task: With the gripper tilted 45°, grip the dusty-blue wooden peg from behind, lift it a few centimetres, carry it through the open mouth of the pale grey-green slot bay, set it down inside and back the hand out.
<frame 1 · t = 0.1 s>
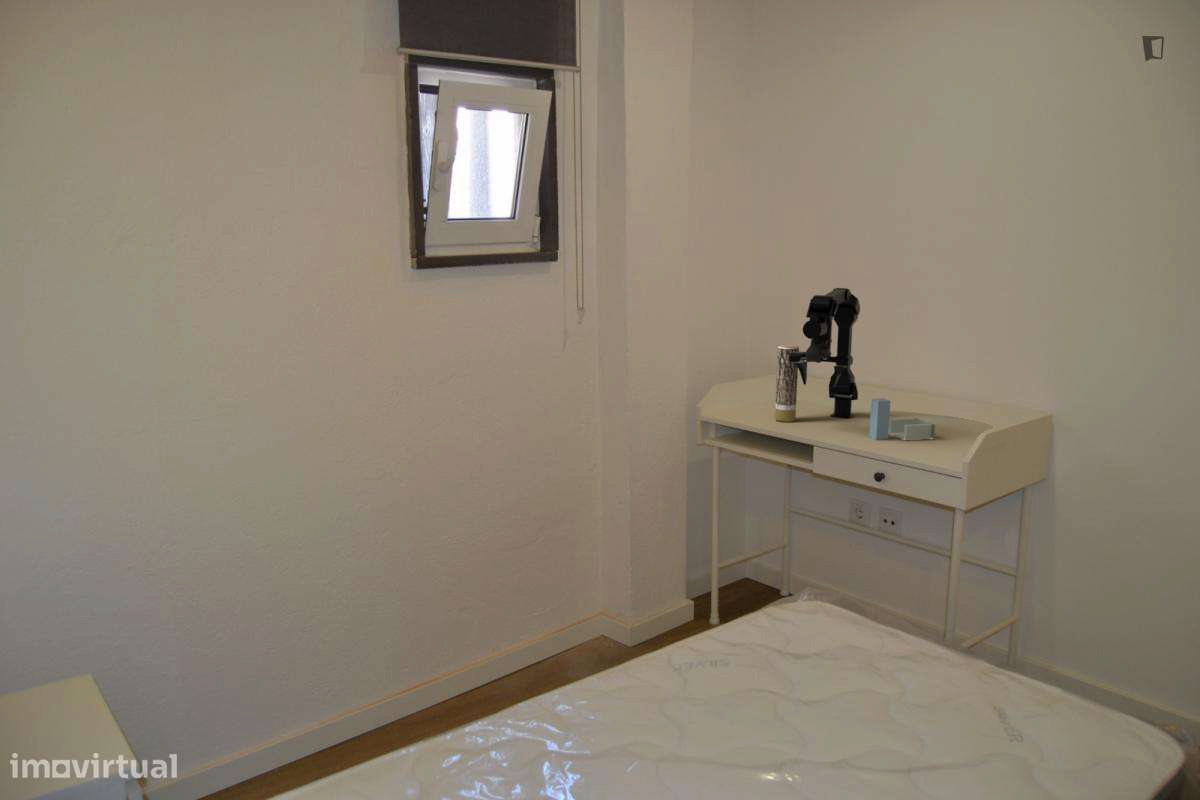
hand: (819, 385, 273), 15 cm above the table, tool pointing down, fingers open, 9 cm apart
paper tube: (784, 421, 291), on the table
slot bay: (911, 436, 270), on the table
peg: (878, 438, 267), on the table
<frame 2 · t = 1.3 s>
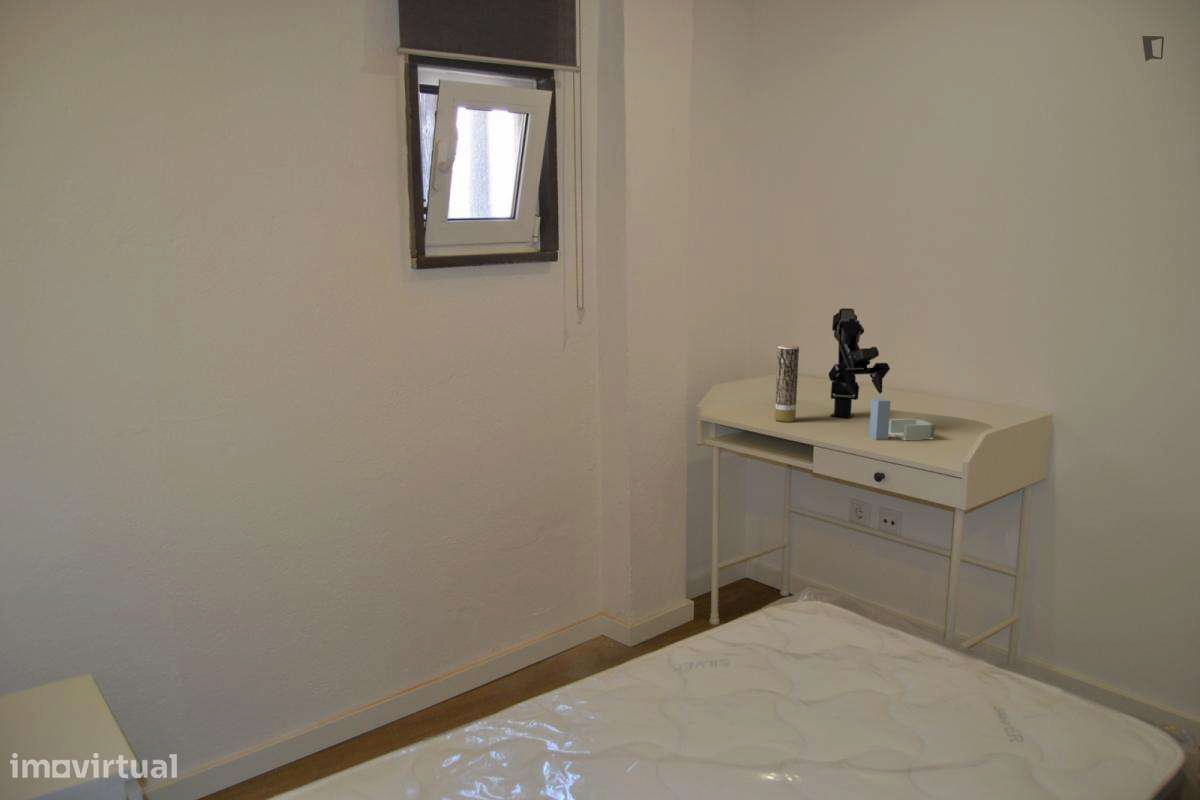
hand: (867, 393, 272), 13 cm above the table, tool tilted 45°, fingers open, 9 cm apart
nothing on the table moved.
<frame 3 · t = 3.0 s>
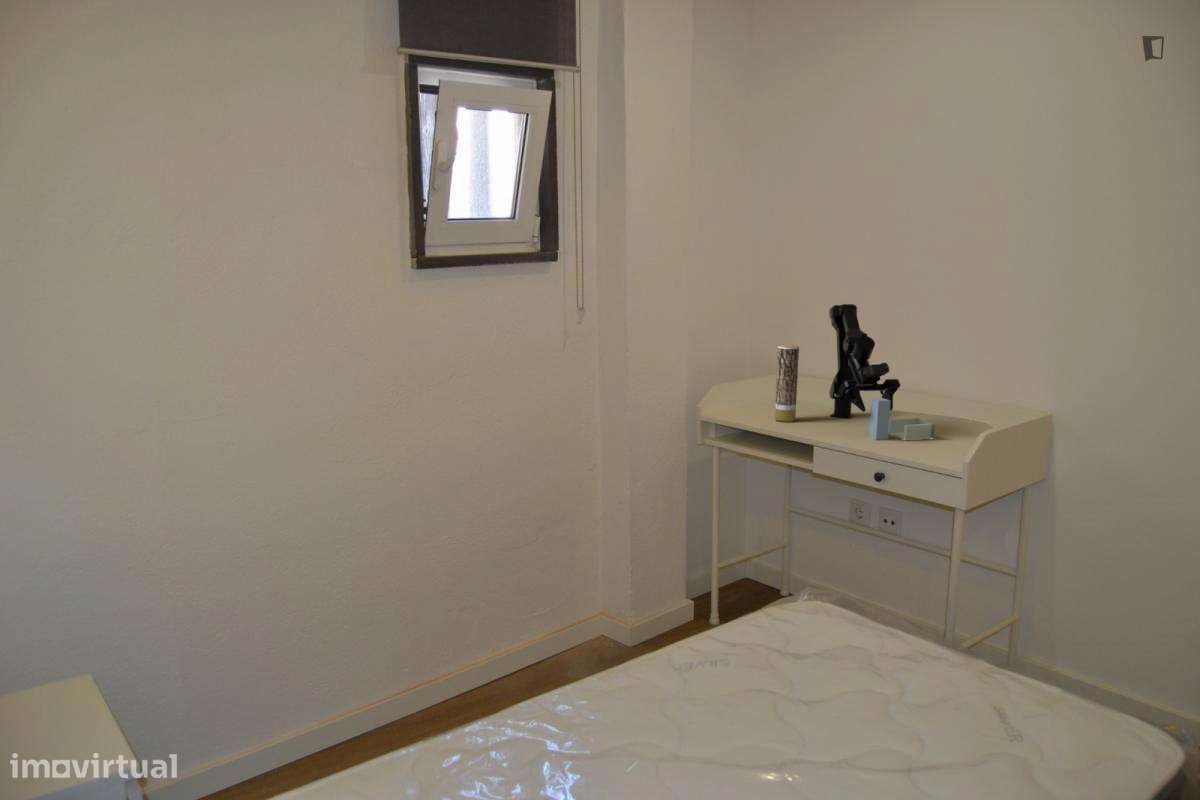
hand: (878, 410, 266), 8 cm above the table, tool tilted 45°, fingers open, 9 cm apart
nothing on the table moved.
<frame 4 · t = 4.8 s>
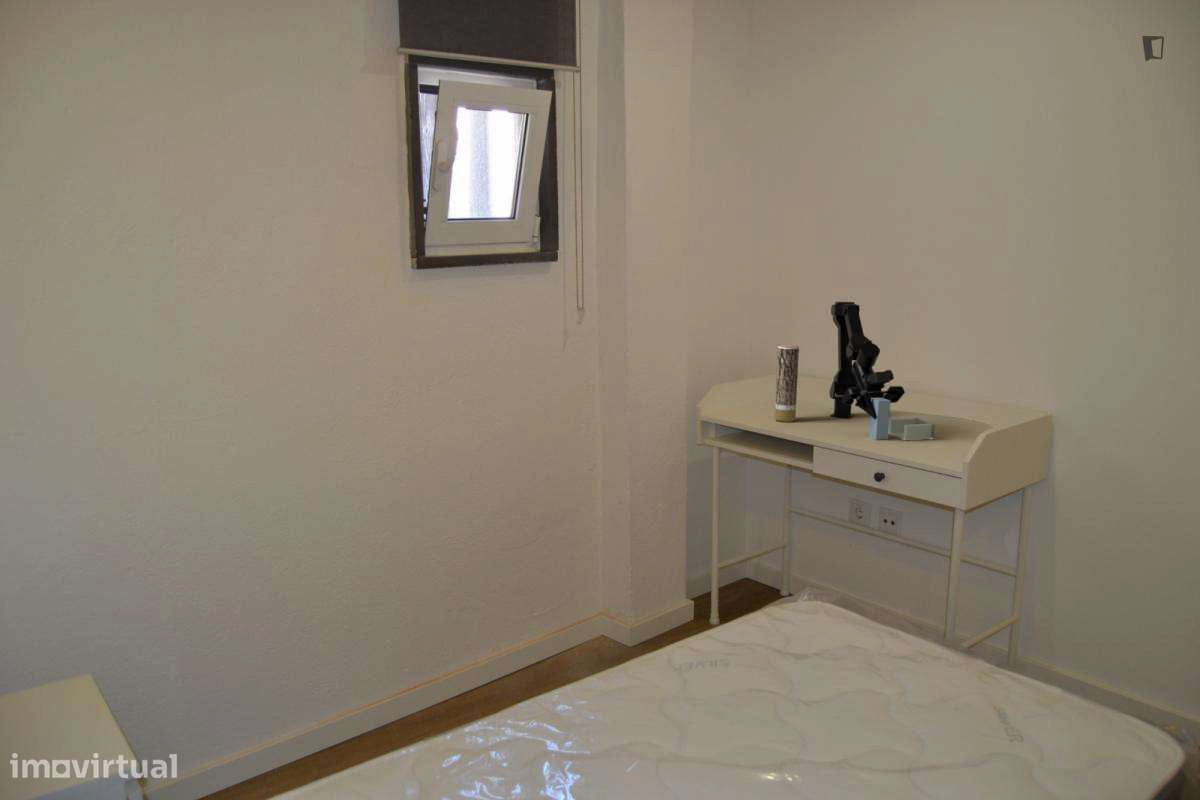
hand: (882, 418, 264), 7 cm above the table, tool tilted 45°, fingers closed on peg, 4 cm apart
peg: (878, 438, 267), on the table, touching gripper
everything else where it was.
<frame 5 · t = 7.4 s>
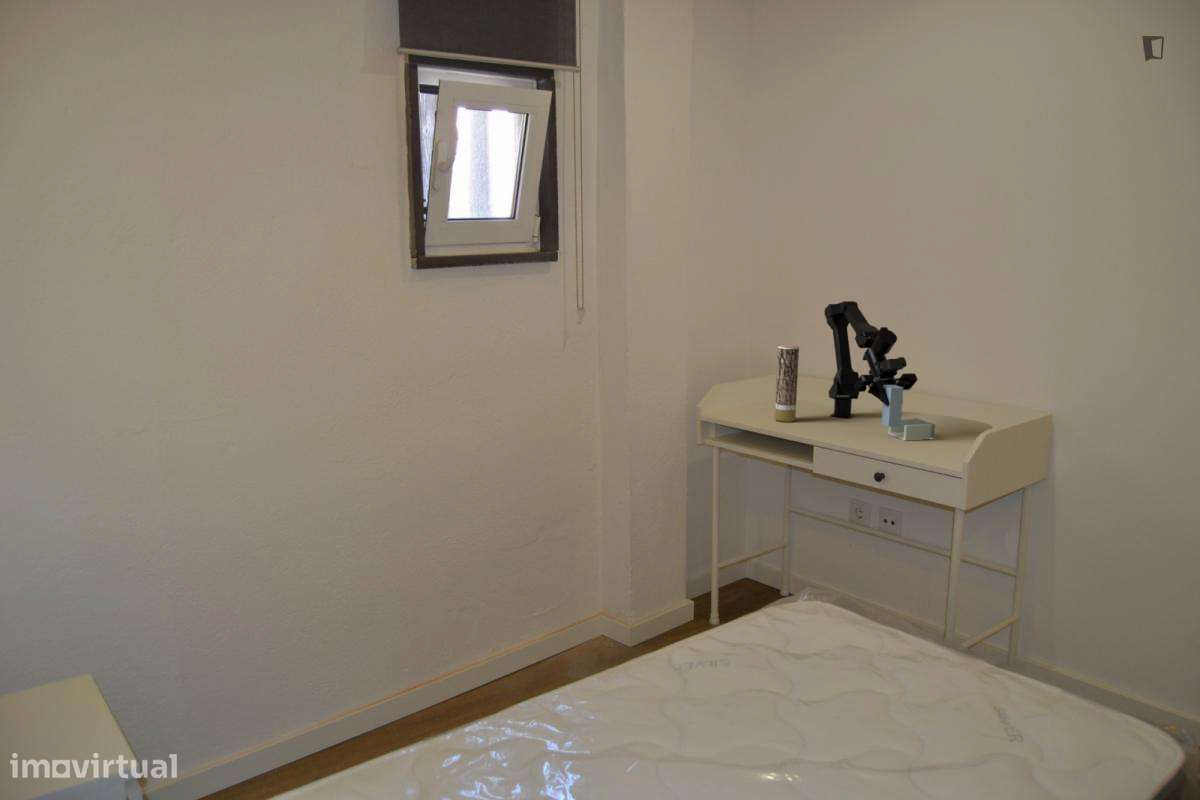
hand: (895, 405, 265), 10 cm above the table, tool tilted 45°, fingers closed on peg, 4 cm apart
peg: (890, 425, 267), point 4 cm above the table, touching gripper
everything else where it was.
when the fingers open (8 cm above the table, at t = 10.0 s): peg drops 1 cm, resting on slot bay.
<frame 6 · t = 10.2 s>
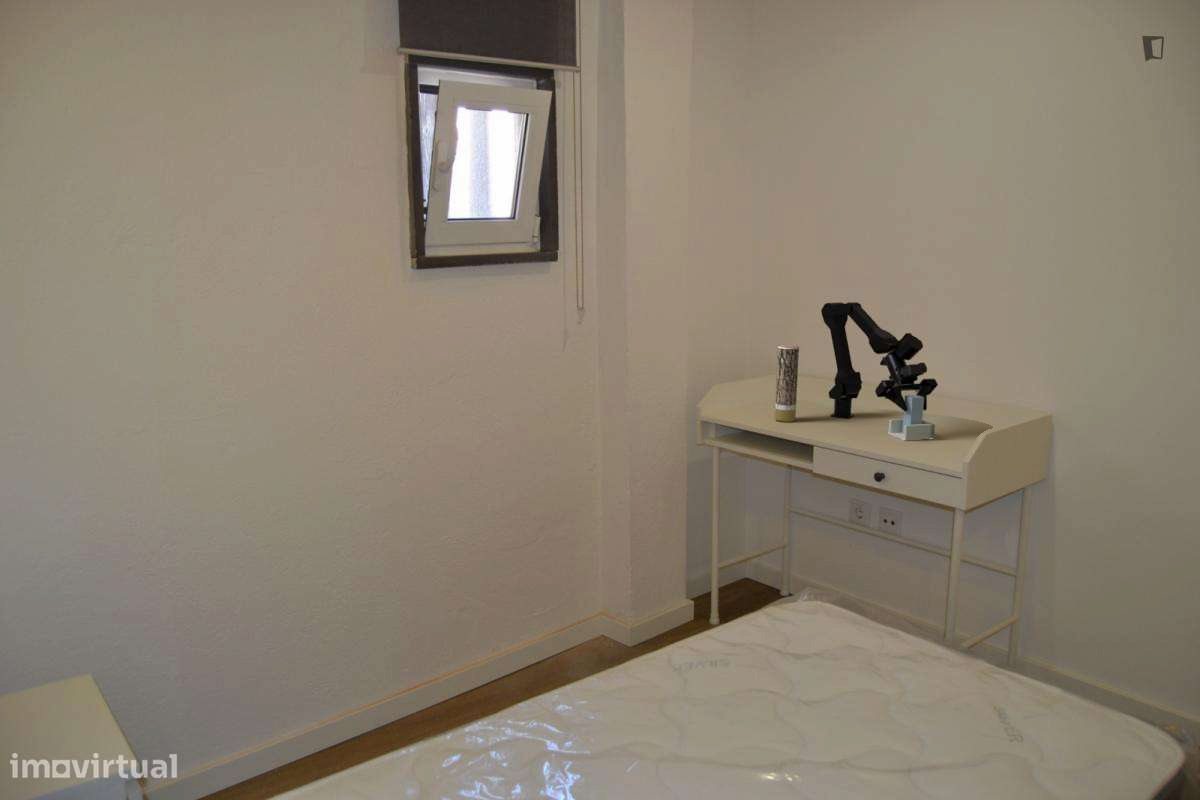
hand: (915, 410, 267), 9 cm above the table, tool tilted 45°, fingers open, 6 cm apart
peg: (911, 434, 269), point 1 cm above the table, touching slot bay
everything else where it was.
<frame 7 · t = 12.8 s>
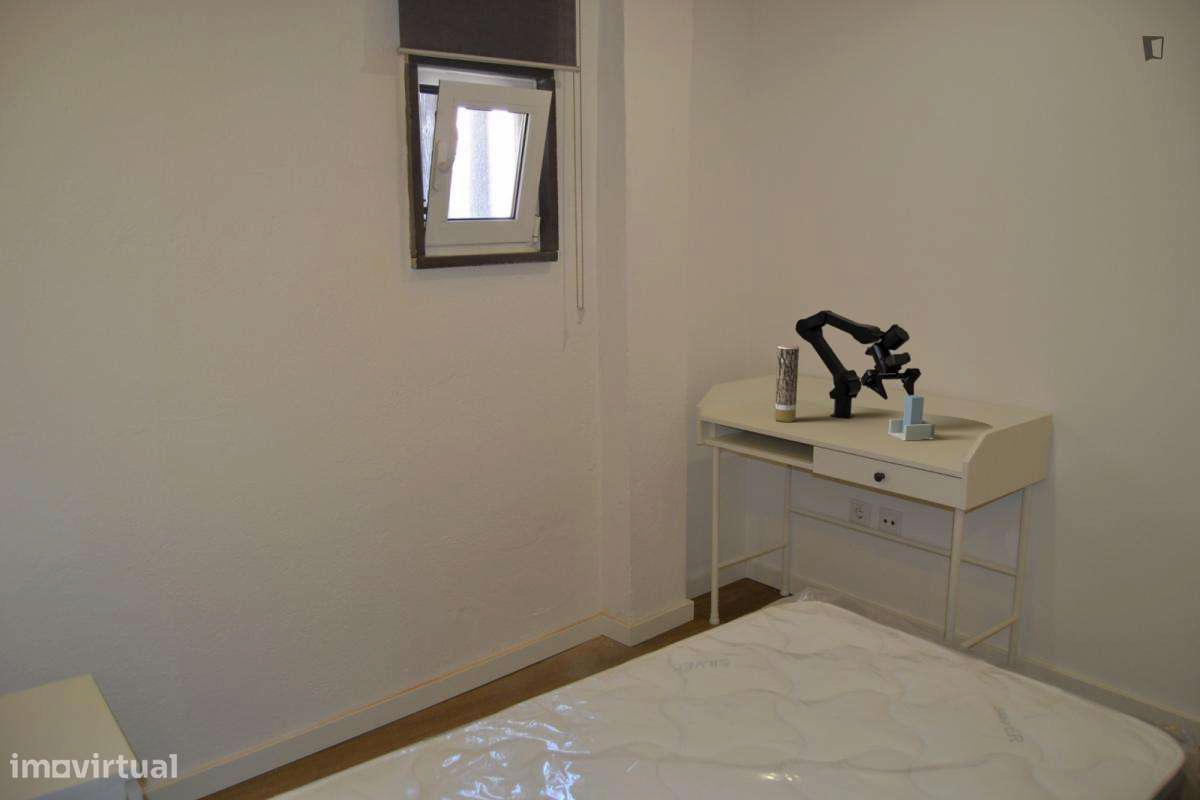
hand: (899, 398, 275), 11 cm above the table, tool tilted 45°, fingers open, 9 cm apart
nothing on the table moved.
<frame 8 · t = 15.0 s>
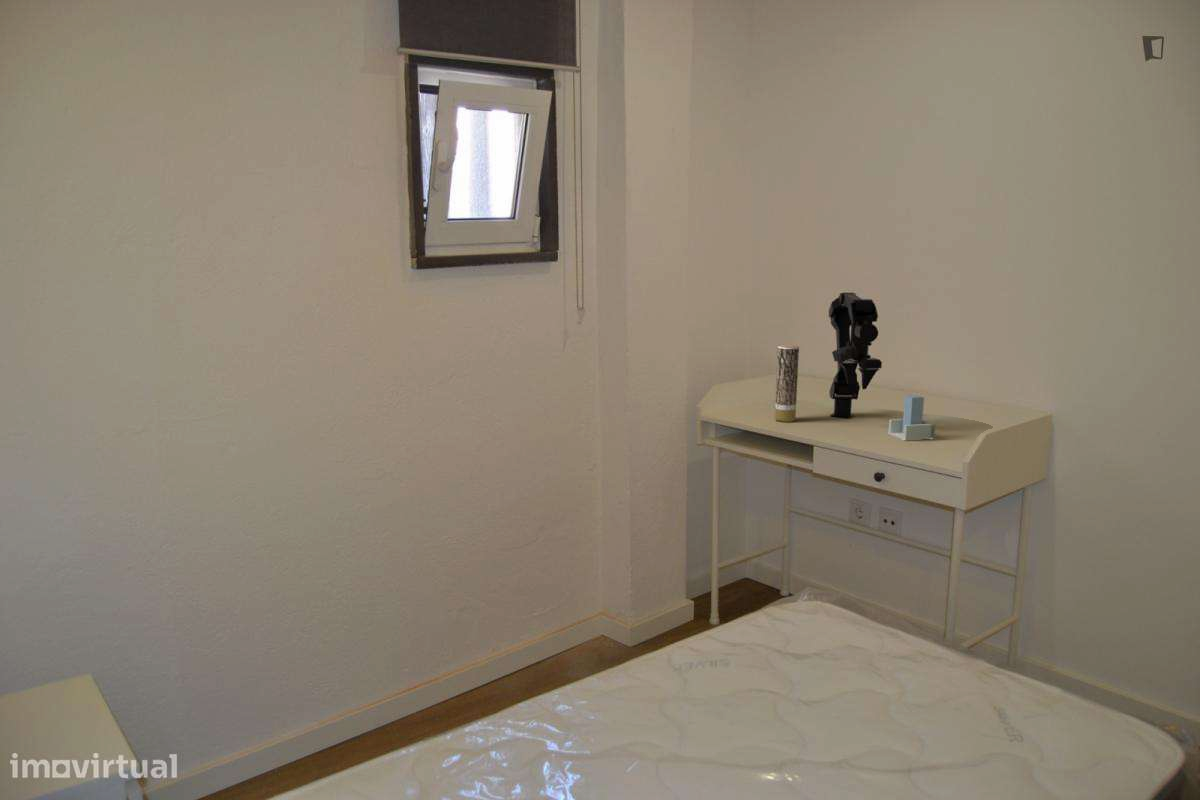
hand: (856, 386, 281), 13 cm above the table, tool pointing down, fingers open, 9 cm apart
nothing on the table moved.
at the end: peg 0.0 cm off-centre on the slot bay, point 0.6 cm above the slot bay's base; peg tilted 0°; the gripper is holding nothing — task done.
